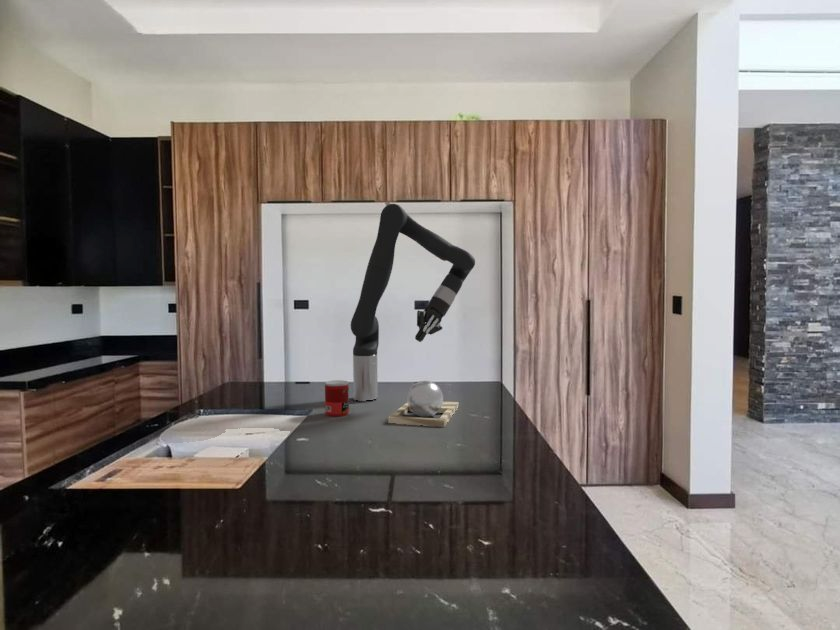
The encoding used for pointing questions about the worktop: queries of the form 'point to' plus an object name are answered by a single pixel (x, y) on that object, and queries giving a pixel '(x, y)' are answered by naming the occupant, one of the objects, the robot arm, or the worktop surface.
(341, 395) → the canned food
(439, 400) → the ball
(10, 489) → the worktop surface
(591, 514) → the worktop surface
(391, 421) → the hole board
